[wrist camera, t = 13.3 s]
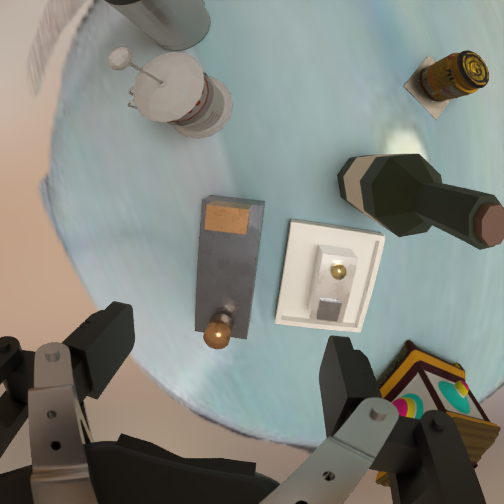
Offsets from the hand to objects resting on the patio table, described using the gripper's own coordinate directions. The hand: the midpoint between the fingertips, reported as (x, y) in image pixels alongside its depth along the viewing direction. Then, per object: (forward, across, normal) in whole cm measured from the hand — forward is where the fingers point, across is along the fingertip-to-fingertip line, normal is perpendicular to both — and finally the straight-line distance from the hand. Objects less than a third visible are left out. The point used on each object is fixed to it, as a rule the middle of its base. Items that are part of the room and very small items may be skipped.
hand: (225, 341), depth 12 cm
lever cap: (+33, -11, +9) cm, 36 cm away
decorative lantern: (+34, -34, +30) cm, 57 cm away
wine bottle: (+34, -14, -6) cm, 37 cm away
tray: (+34, -11, +9) cm, 37 cm away
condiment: (+34, -24, -24) cm, 48 cm away
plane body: (+34, +4, +9) cm, 35 cm away
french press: (+34, +12, -14) cm, 39 cm away
